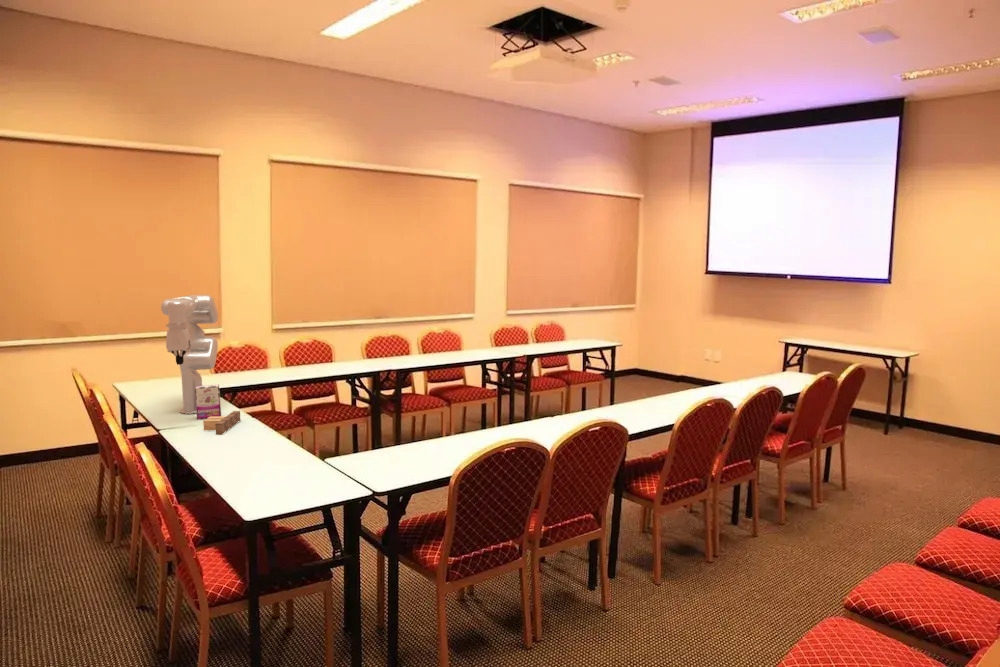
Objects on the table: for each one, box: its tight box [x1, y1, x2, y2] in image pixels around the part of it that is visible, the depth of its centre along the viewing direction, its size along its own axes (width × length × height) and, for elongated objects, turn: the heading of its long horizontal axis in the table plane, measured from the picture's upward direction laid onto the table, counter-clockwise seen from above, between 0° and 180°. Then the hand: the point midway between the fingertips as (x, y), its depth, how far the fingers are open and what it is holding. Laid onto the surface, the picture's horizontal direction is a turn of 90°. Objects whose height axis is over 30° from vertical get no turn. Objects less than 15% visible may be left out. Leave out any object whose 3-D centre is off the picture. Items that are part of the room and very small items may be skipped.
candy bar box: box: [195, 384, 222, 420], centre depth 335 cm, size 11×5×16 cm, turn 112°
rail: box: [215, 410, 241, 435], centre depth 317 cm, size 24×3×5 cm, turn 3°
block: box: [202, 415, 227, 431], centre depth 315 cm, size 8×8×5 cm
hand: (179, 364), depth 323 cm, fingers closed
